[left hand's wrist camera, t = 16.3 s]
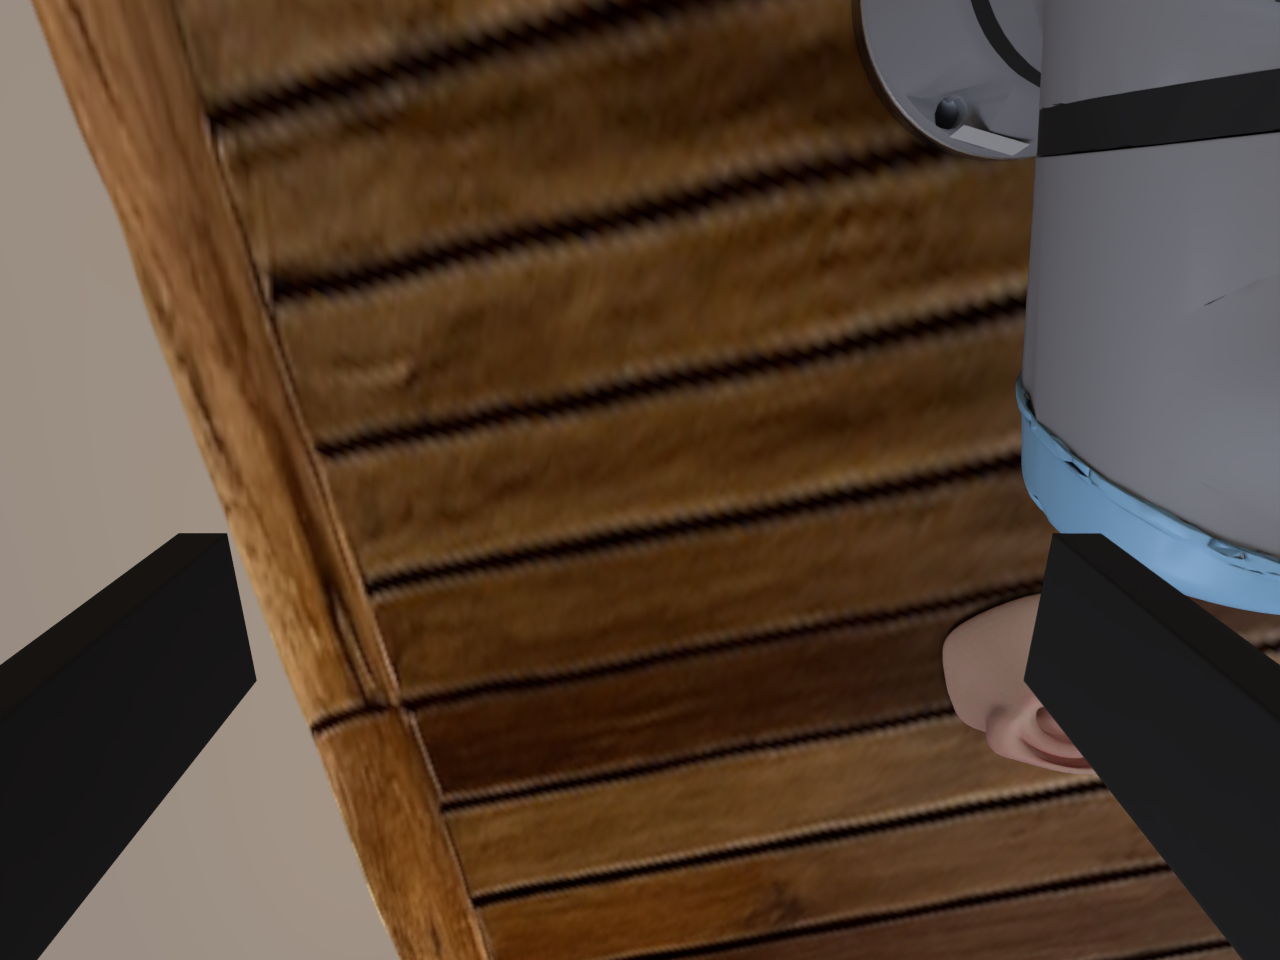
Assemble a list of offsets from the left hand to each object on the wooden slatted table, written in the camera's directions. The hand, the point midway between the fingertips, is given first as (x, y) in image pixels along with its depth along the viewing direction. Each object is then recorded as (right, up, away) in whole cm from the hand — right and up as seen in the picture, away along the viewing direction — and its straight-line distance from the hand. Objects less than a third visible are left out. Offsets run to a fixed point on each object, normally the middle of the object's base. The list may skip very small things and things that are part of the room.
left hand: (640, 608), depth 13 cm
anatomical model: (+25, -10, +36) cm, 45 cm away
